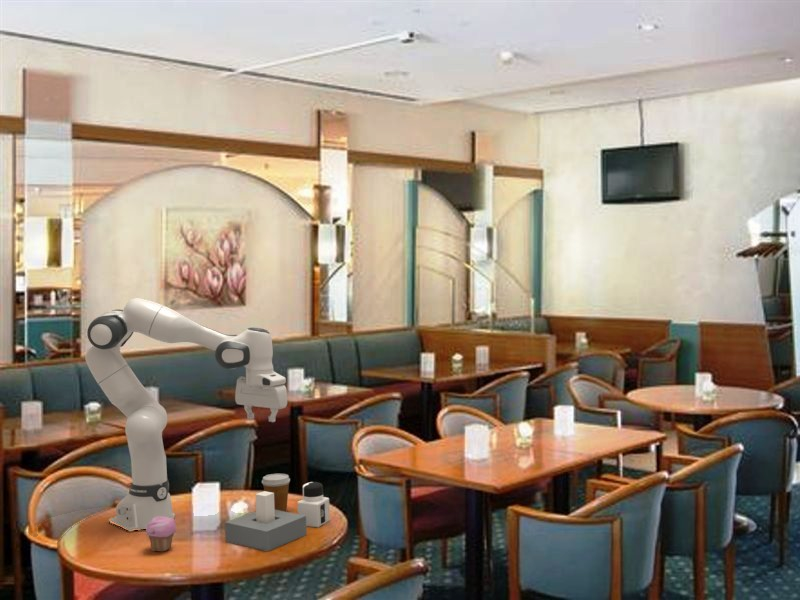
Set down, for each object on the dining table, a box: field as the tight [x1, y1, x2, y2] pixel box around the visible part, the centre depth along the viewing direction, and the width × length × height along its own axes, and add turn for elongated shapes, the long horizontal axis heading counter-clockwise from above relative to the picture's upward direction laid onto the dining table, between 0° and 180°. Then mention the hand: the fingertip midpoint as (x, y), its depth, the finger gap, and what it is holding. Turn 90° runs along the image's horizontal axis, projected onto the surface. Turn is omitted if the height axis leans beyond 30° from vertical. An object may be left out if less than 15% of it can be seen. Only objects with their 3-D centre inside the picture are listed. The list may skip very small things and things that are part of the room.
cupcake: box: [145, 516, 177, 552], centre depth 272 cm, size 9×9×10 cm
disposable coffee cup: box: [261, 473, 291, 512], centre depth 307 cm, size 10×10×12 cm
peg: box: [255, 490, 275, 523], centre depth 280 cm, size 4×4×14 cm
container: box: [296, 481, 331, 528], centre depth 293 cm, size 8×8×13 cm
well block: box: [224, 510, 307, 552], centre depth 280 cm, size 18×18×6 cm
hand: (261, 420), depth 293 cm, fingers open, 8 cm apart
